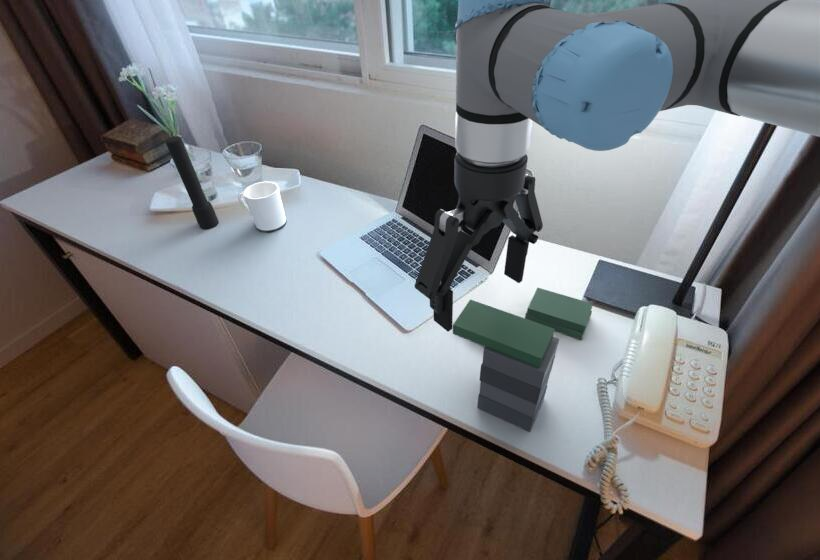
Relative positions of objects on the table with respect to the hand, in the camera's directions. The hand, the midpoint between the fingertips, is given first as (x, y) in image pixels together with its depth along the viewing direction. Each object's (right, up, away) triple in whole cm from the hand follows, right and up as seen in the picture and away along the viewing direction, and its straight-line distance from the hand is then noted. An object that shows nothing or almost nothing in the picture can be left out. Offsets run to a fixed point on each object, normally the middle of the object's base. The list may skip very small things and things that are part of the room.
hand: (479, 300), depth 59 cm
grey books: (+7, -18, +13) cm, 23 cm away
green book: (+4, -5, +4) cm, 8 cm away
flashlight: (-64, +18, +59) cm, 89 cm away
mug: (-48, +18, +58) cm, 77 cm away
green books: (+20, -5, +27) cm, 33 cm away
